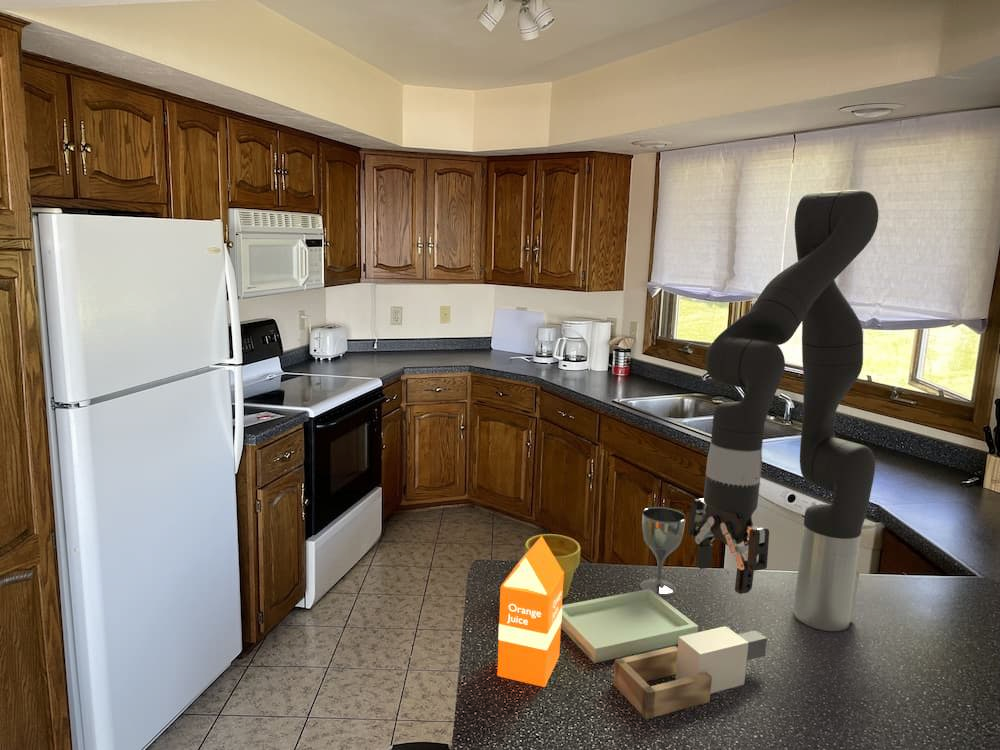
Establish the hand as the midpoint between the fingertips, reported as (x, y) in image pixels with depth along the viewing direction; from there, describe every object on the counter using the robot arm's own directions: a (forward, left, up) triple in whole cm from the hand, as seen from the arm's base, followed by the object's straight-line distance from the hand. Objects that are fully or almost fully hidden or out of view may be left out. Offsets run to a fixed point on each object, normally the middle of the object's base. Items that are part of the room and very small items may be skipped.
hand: (721, 579), depth 105 cm
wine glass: (-10, -28, -17) cm, 34 cm away
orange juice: (+25, -13, -17) cm, 33 cm away
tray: (+5, -17, -17) cm, 24 cm away
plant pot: (+11, -33, -17) cm, 39 cm away
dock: (+9, 0, -17) cm, 19 cm away
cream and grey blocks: (-2, 0, -17) cm, 17 cm away
